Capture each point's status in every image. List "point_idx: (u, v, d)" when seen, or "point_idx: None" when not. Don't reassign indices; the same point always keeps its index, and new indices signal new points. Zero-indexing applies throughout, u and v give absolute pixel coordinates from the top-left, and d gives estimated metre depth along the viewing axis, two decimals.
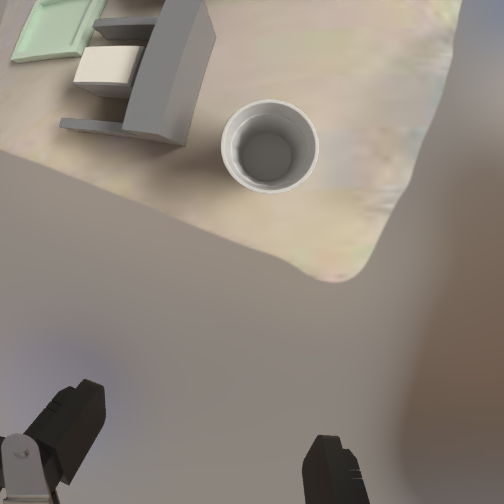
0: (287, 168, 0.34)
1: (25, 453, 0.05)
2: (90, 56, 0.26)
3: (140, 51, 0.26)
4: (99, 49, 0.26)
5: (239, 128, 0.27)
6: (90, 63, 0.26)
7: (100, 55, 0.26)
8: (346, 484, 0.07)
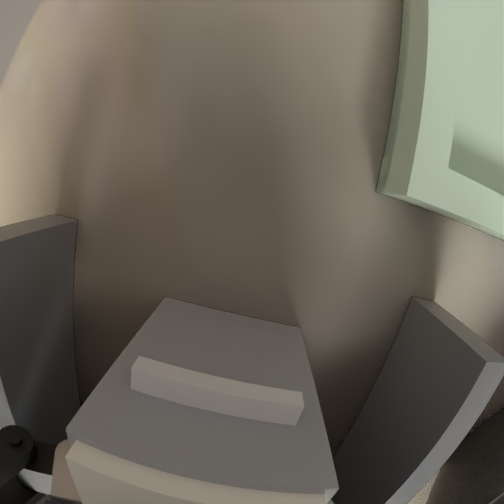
0: None
1: None
2: None
3: None
4: None
5: None
6: None
7: None
8: None
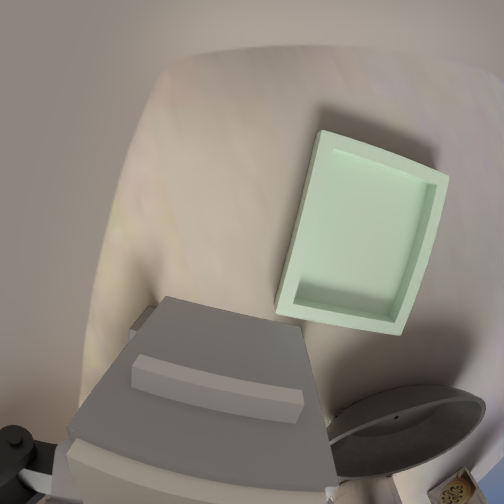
0: None
1: None
2: None
3: None
4: None
5: None
6: None
7: None
8: None
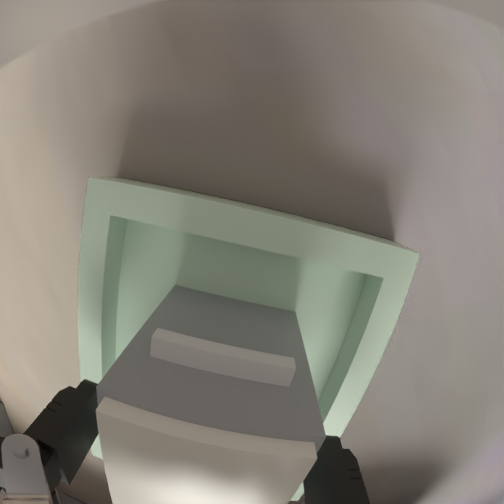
0: None
1: (25, 453, 0.05)
2: (239, 485, 0.05)
3: None
4: None
5: None
6: (196, 485, 0.05)
7: None
8: (346, 484, 0.07)
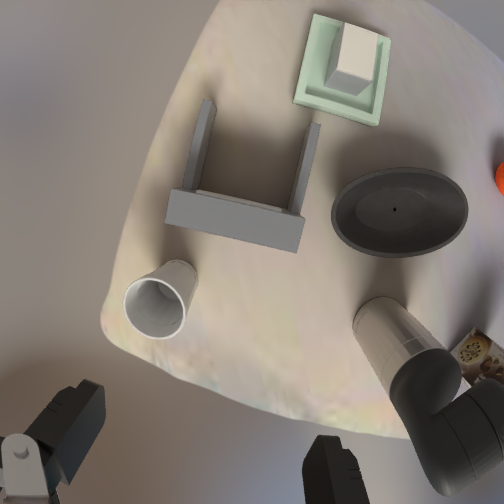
0: (168, 297, 0.45)
1: (25, 453, 0.05)
2: (367, 37, 0.30)
3: (366, 80, 0.32)
4: (373, 45, 0.30)
5: None
6: (360, 37, 0.30)
7: (367, 46, 0.30)
8: (346, 484, 0.07)
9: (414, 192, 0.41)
